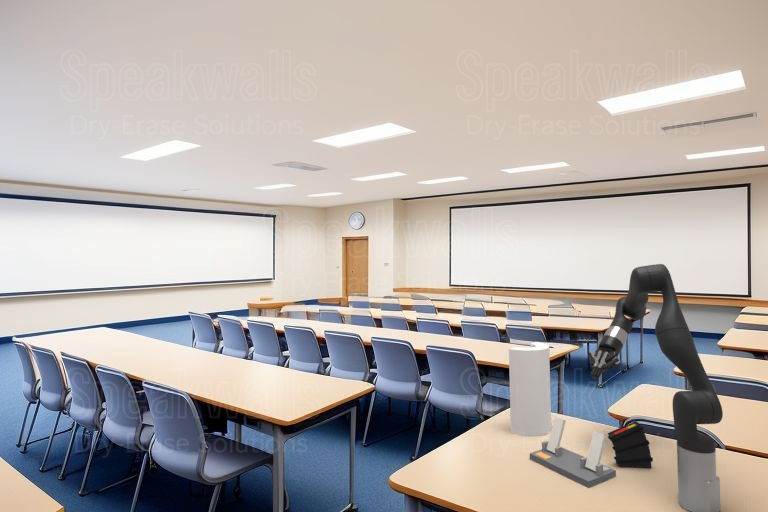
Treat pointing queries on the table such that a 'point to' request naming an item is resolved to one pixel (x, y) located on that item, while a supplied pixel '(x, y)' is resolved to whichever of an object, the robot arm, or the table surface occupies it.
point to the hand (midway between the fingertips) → (594, 377)
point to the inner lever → (595, 450)
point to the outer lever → (556, 434)
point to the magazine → (631, 446)
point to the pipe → (530, 390)
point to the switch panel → (572, 465)
